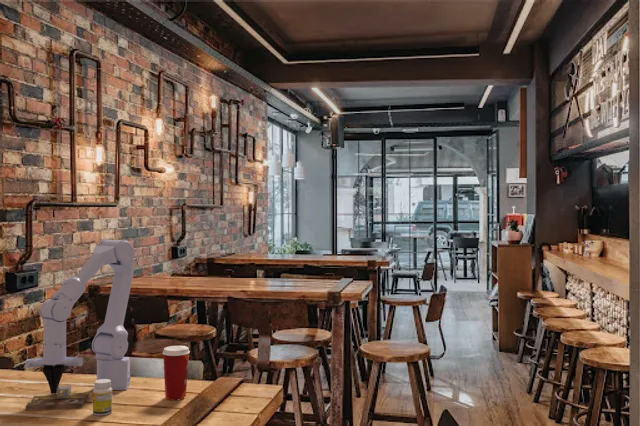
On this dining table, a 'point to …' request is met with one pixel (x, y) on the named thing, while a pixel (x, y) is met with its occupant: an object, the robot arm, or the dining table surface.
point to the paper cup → (175, 371)
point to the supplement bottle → (102, 397)
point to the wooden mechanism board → (57, 401)
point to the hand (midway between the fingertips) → (54, 392)
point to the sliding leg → (63, 392)
